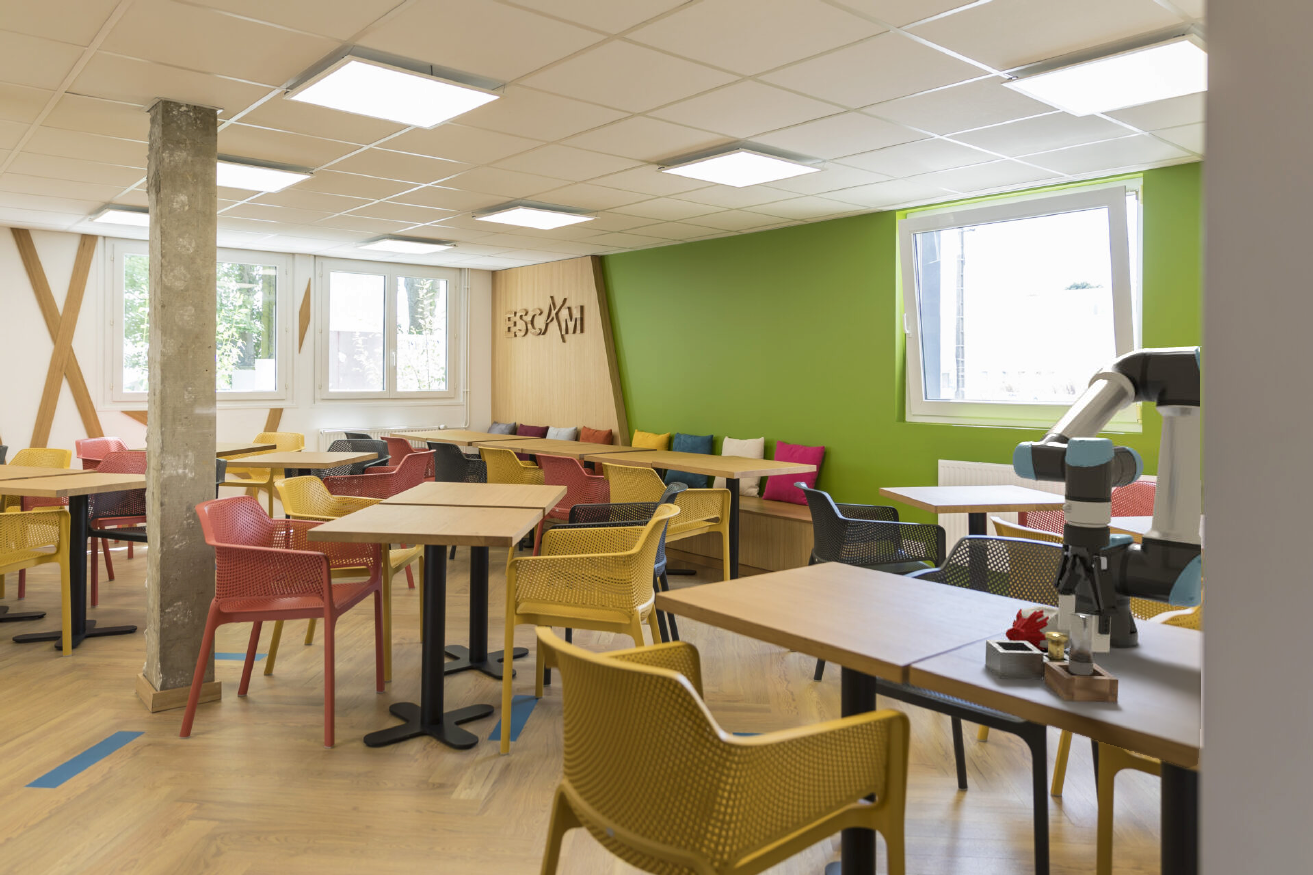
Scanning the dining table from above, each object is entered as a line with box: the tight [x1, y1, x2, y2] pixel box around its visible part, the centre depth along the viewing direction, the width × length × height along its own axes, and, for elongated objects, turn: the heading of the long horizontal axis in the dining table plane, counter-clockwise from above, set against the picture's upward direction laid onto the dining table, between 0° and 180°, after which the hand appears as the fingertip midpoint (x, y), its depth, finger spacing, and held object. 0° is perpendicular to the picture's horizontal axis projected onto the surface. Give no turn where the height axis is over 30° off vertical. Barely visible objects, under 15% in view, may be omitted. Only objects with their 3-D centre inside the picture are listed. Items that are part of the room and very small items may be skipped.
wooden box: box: [1044, 662, 1119, 703], centre depth 154 cm, size 9×9×4 cm
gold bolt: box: [1045, 632, 1068, 661], centre depth 165 cm, size 4×4×7 cm
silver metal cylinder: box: [1068, 613, 1095, 676], centre depth 154 cm, size 4×4×14 cm
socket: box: [984, 639, 1069, 680], centre depth 165 cm, size 15×8×5 cm, turn 88°
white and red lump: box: [1005, 605, 1070, 651], centre depth 181 cm, size 9×11×15 cm
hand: (1082, 640), depth 154 cm, fingers open, 13 cm apart
